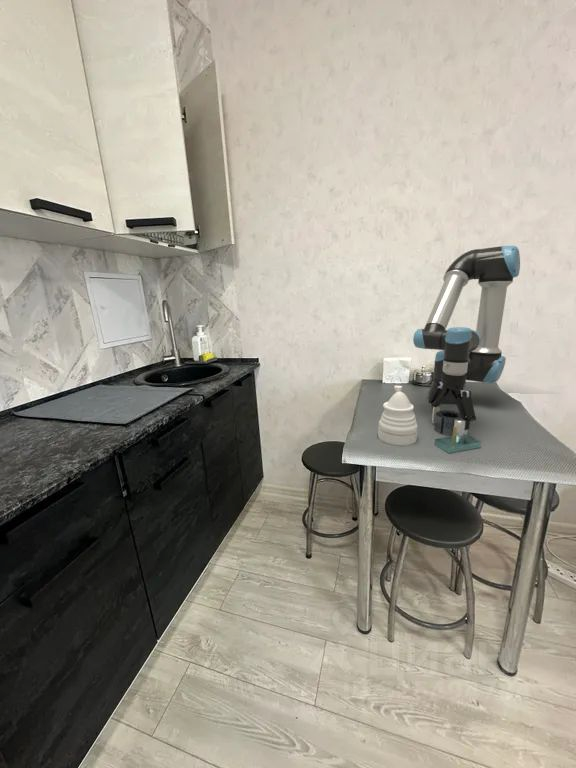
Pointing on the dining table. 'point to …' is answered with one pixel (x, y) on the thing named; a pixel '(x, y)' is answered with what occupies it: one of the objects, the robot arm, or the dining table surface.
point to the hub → (445, 421)
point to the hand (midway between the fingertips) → (448, 430)
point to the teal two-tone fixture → (457, 439)
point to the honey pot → (398, 420)
